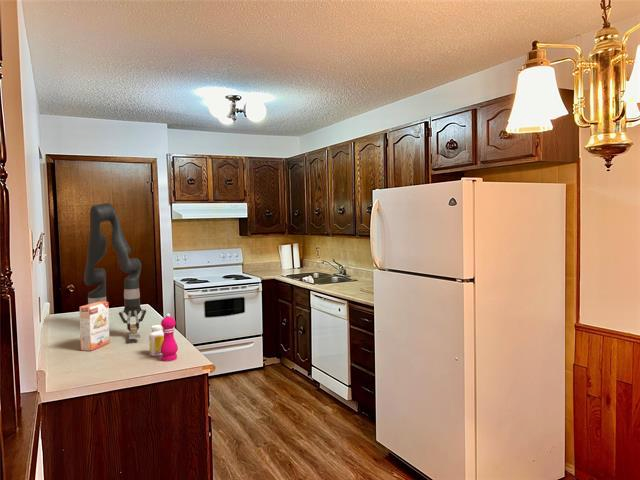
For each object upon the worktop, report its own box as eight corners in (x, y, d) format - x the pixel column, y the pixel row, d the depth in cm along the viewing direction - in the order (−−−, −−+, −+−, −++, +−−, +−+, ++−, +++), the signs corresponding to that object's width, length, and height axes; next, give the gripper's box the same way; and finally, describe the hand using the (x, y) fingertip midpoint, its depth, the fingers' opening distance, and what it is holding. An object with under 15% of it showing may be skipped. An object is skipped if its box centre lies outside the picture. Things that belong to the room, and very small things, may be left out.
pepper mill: (163, 356, 209) (161, 312, 208) (179, 356, 210) (178, 311, 209) (158, 362, 202) (157, 315, 201) (176, 361, 203) (174, 315, 202)
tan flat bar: (127, 330, 247) (127, 324, 247) (138, 329, 249) (137, 323, 249) (129, 339, 231) (129, 333, 230) (140, 337, 233) (140, 331, 233)
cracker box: (91, 351, 220) (89, 306, 218) (80, 351, 221) (78, 306, 220) (110, 343, 233) (109, 301, 232) (99, 342, 235) (98, 301, 233)
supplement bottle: (168, 352, 216) (167, 324, 215) (159, 357, 209) (158, 328, 209) (156, 351, 218) (155, 323, 217) (146, 355, 212) (145, 327, 211)
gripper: (145, 294, 250) (147, 327, 251) (117, 297, 245) (118, 330, 246) (147, 297, 243) (148, 330, 245) (117, 299, 238) (118, 333, 239)
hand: (133, 330), depth 245 cm, fingers closed on tan flat bar, 3 cm apart
